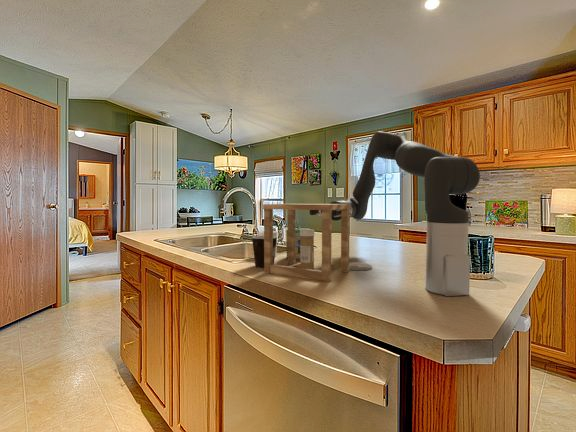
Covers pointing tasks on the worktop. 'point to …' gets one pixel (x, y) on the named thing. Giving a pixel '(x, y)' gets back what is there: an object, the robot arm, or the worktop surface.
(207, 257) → the worktop surface
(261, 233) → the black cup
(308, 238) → the sprinkles bottle
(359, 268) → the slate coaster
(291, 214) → the oak shelf
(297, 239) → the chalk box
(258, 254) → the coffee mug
